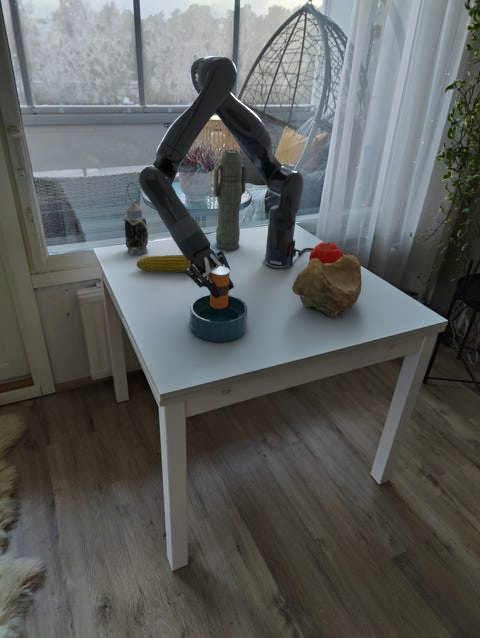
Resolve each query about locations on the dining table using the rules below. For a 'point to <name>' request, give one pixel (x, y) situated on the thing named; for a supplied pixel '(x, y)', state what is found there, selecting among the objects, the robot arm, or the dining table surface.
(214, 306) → the tube
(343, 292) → the rough brown rock
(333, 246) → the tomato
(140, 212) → the lantern
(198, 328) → the bowl
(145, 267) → the food
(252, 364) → the dining table surface
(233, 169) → the thermos
